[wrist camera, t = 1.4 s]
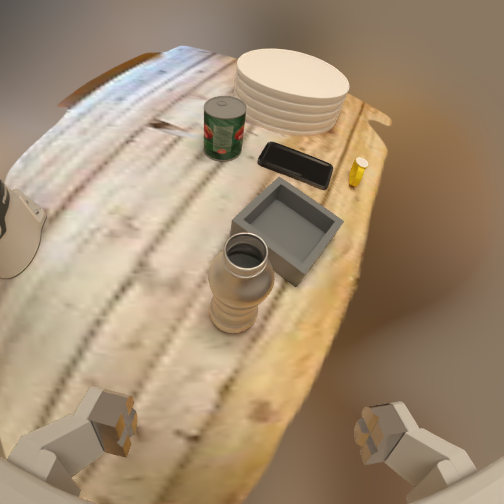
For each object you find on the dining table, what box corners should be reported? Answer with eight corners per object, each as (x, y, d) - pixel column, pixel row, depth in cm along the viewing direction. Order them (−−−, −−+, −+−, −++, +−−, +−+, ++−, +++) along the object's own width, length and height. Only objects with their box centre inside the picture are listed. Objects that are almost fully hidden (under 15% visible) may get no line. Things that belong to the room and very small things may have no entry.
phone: (269, 140, 59) (334, 165, 58) (268, 144, 60) (332, 168, 59) (256, 161, 55) (327, 189, 54) (255, 165, 56) (325, 193, 55)
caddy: (230, 237, 47) (232, 220, 43) (274, 194, 53) (279, 176, 48) (295, 287, 44) (305, 274, 40) (333, 236, 50) (344, 221, 45)
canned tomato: (248, 155, 57) (254, 113, 47) (212, 166, 54) (214, 122, 45) (231, 133, 60) (235, 92, 50) (198, 142, 57) (197, 100, 48)
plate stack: (263, 72, 77) (268, 42, 67) (346, 106, 73) (358, 75, 63) (212, 108, 64) (213, 69, 54) (316, 153, 60) (332, 113, 50)
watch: (357, 192, 56) (368, 175, 51) (345, 188, 56) (355, 170, 51) (358, 172, 59) (368, 155, 53) (346, 168, 59) (356, 150, 53)
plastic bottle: (211, 292, 42) (209, 214, 25) (256, 296, 43) (285, 222, 25) (207, 334, 39) (199, 282, 22) (254, 338, 40) (286, 290, 22)
